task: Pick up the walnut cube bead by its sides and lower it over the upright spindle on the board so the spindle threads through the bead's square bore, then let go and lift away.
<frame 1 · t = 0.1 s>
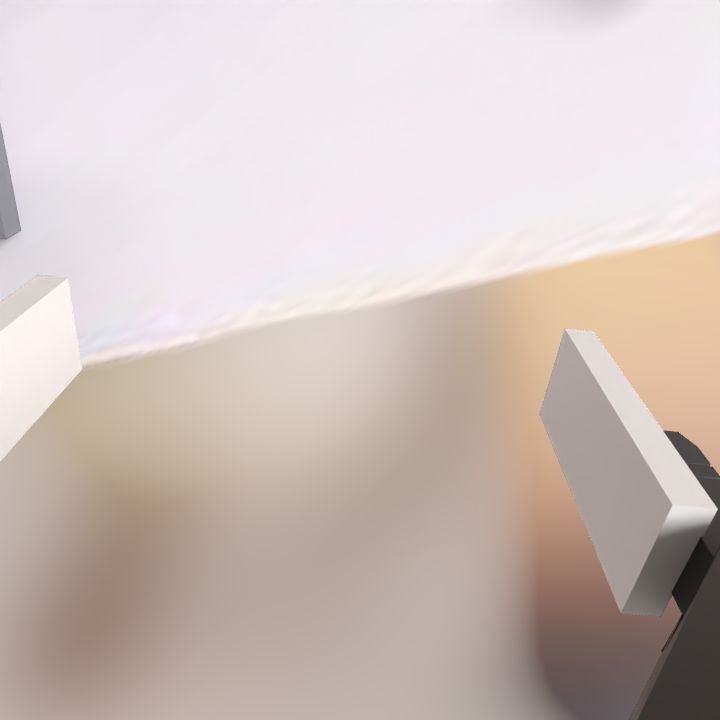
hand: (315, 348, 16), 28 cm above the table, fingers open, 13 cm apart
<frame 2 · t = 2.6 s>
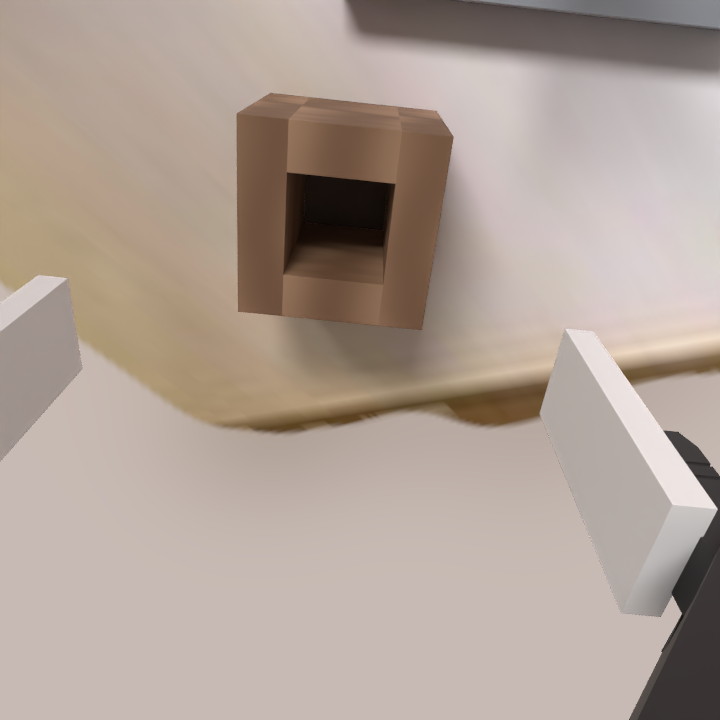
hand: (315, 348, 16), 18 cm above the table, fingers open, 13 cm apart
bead: (346, 186, 32), on the table
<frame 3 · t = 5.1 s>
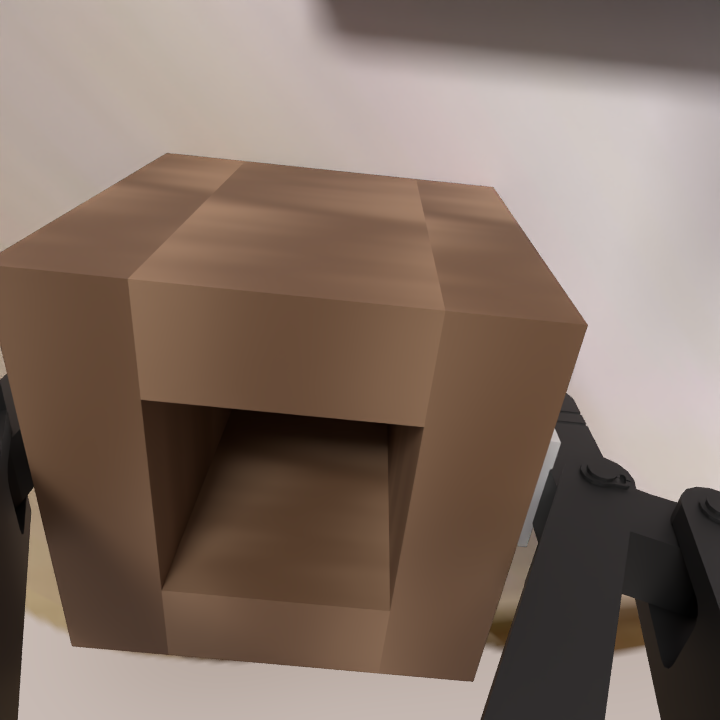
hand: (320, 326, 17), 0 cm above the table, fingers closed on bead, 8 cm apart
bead: (320, 317, 17), on the table, touching gripper
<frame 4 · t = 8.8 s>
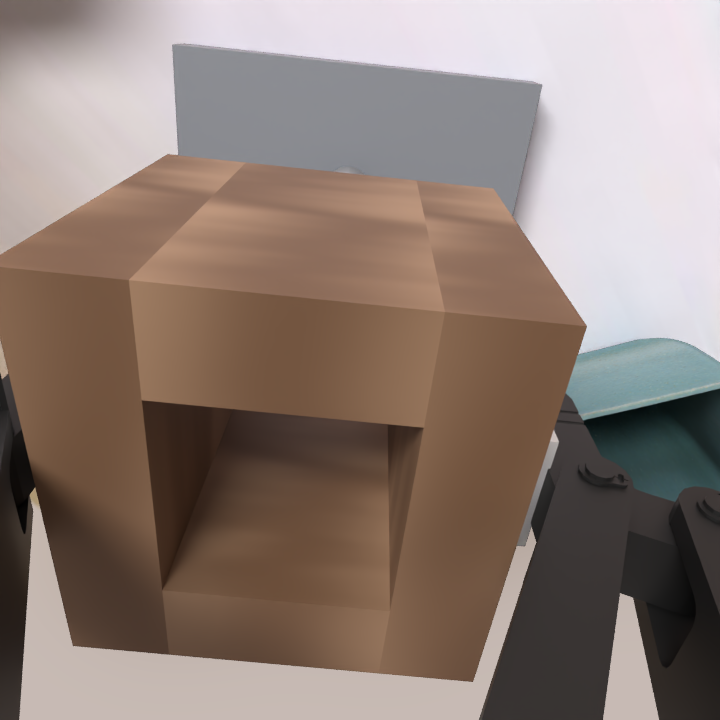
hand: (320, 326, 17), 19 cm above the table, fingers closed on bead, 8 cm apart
spindle stand: (349, 181, 33), on the table
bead: (321, 318, 17), point 18 cm above the table, touching gripper
flower pot: (604, 376, 39), on the table
when the fingers open (4 cm above the table, at t = 12.4 s): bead drops 2 cm, resting on spindle stand.
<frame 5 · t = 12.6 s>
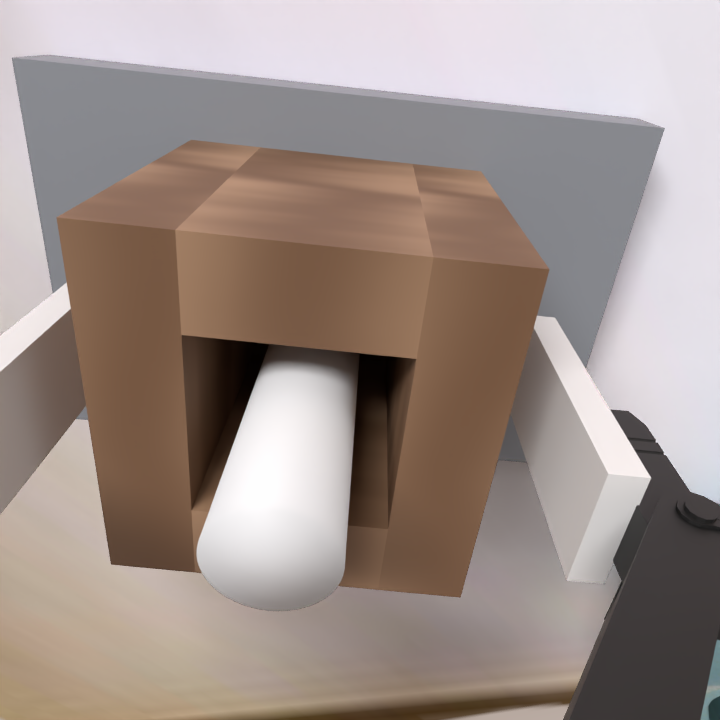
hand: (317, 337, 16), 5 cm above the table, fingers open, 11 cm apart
spindle stand: (331, 272, 21), on the table
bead: (326, 290, 19), point 2 cm above the table, touching spindle stand
flower pot: (708, 537, 27), on the table
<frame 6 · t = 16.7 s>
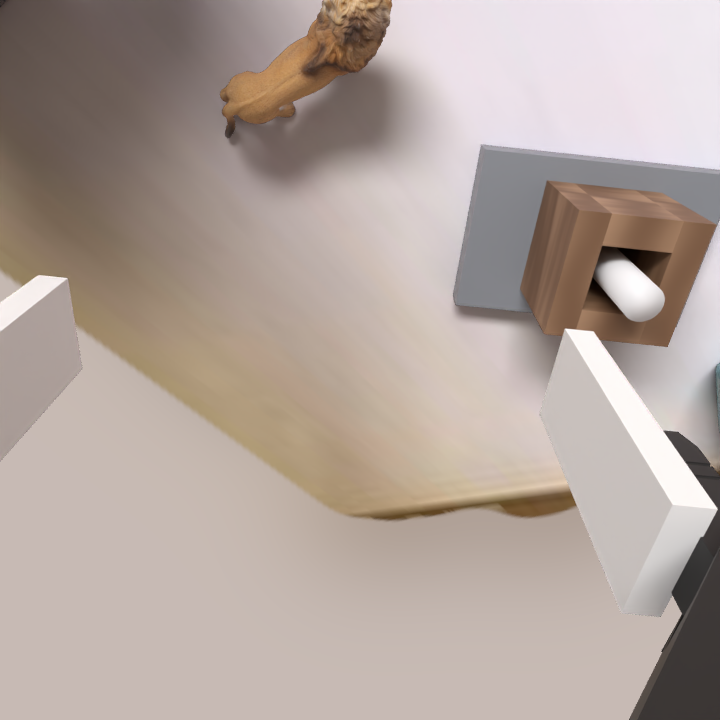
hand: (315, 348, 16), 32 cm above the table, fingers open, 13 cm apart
lion figurine: (305, 57, 41), on the table
spindle stand: (579, 236, 46), on the table
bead: (587, 242, 44), point 2 cm above the table, touching spindle stand
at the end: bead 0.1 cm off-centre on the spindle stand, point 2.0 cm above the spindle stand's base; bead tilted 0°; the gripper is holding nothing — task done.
